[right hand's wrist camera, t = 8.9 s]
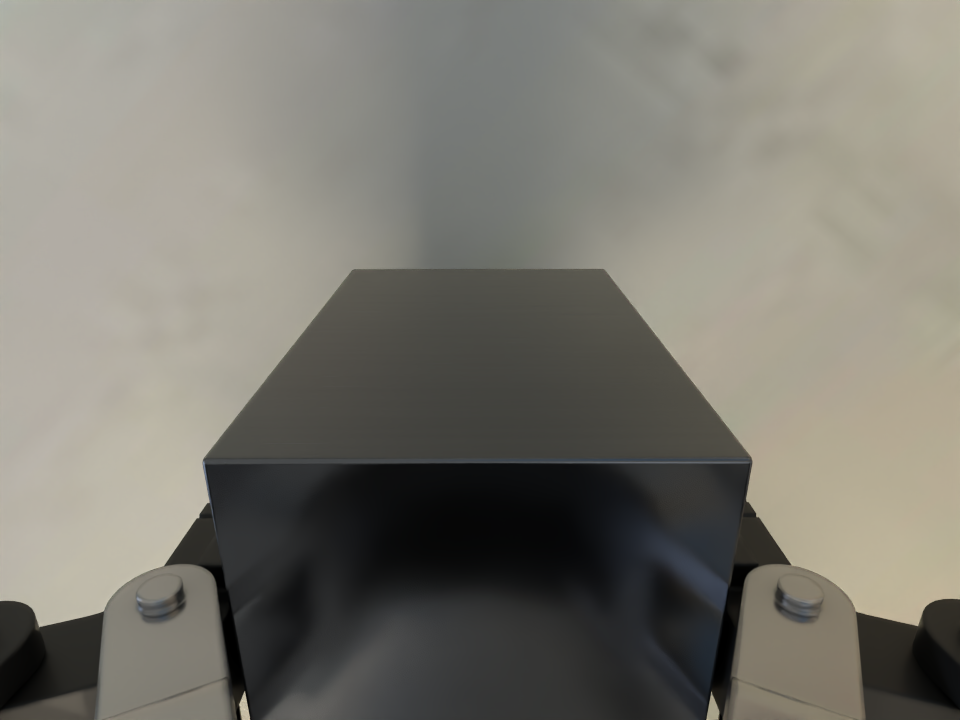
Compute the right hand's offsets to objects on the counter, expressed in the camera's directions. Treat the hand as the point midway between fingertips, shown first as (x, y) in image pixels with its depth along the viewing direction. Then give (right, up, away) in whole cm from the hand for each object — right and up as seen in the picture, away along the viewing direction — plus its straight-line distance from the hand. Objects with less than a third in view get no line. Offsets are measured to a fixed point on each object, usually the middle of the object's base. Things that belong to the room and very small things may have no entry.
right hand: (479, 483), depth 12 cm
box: (0, -6, +7) cm, 10 cm away
